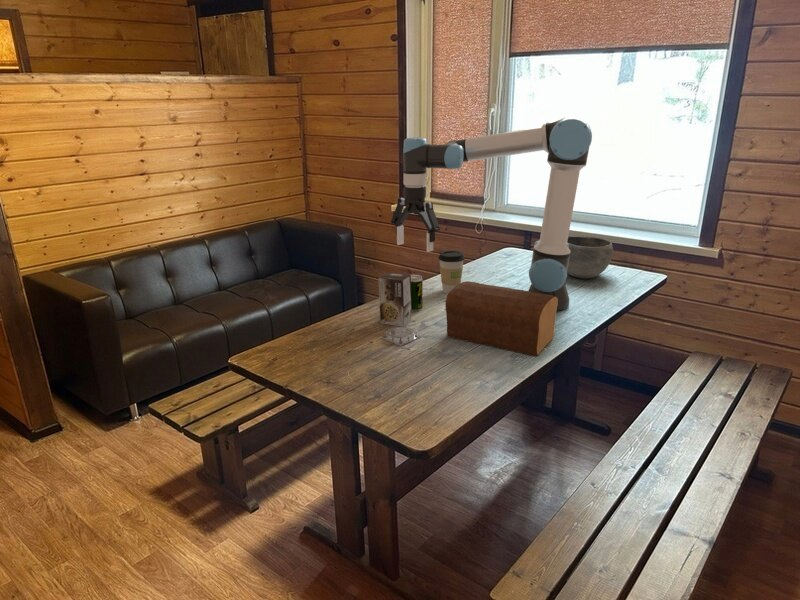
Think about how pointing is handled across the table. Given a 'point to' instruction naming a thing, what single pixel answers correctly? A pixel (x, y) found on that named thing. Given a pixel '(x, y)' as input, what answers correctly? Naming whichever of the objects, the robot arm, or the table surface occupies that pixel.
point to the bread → (501, 317)
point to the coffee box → (395, 299)
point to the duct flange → (400, 335)
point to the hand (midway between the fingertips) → (414, 247)
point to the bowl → (588, 256)
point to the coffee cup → (450, 269)
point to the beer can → (416, 293)
